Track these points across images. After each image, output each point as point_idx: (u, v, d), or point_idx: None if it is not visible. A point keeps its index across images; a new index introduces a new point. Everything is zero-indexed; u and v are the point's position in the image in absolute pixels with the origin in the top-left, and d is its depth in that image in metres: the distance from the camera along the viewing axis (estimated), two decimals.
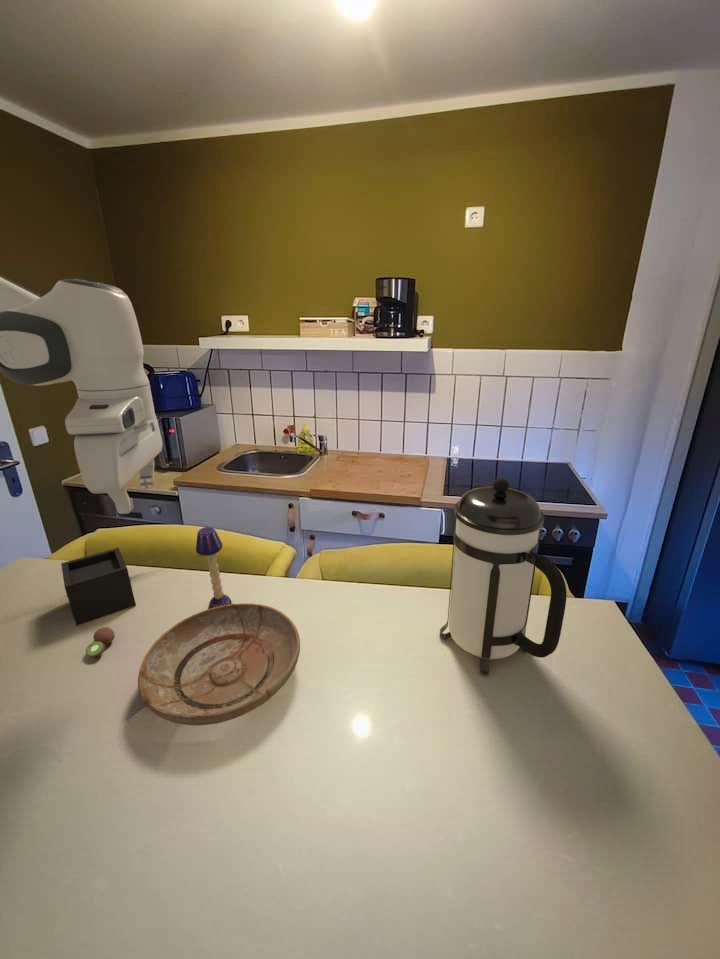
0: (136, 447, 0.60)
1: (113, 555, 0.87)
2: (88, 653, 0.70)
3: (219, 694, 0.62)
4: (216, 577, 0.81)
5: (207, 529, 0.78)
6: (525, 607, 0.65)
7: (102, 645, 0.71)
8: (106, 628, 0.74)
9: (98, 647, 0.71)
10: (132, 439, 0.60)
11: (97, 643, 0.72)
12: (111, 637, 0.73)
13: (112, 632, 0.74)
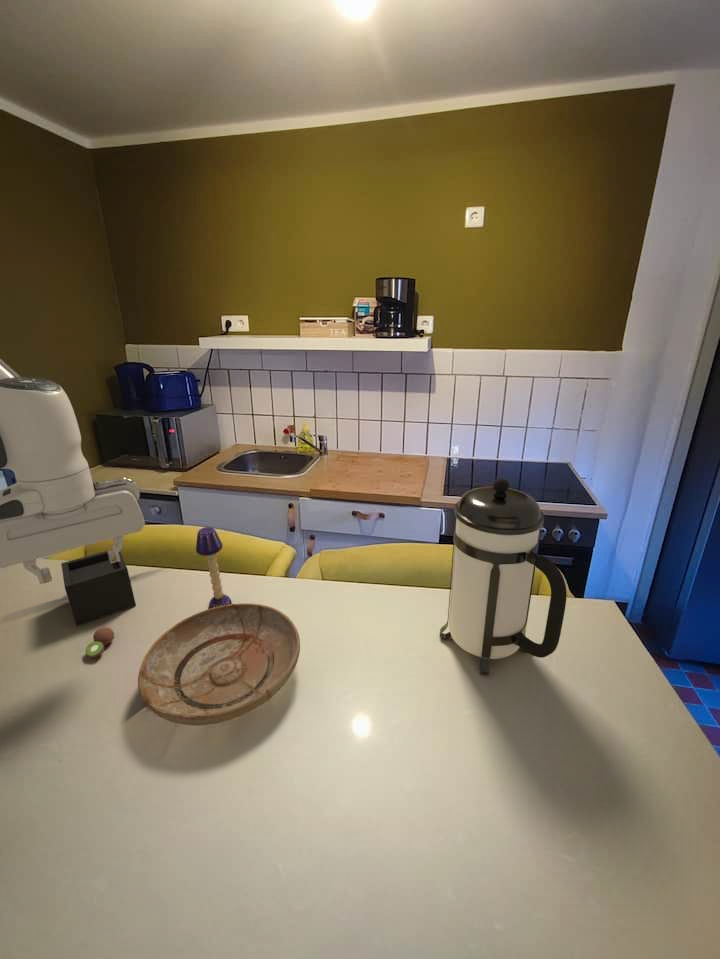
0: (58, 530, 0.63)
1: None
2: (88, 653, 0.70)
3: (219, 694, 0.62)
4: (216, 577, 0.81)
5: (207, 529, 0.78)
6: (525, 607, 0.65)
7: (102, 645, 0.71)
8: (106, 628, 0.74)
9: (98, 647, 0.71)
10: (54, 522, 0.63)
11: (97, 643, 0.72)
12: (111, 637, 0.73)
13: (112, 632, 0.74)
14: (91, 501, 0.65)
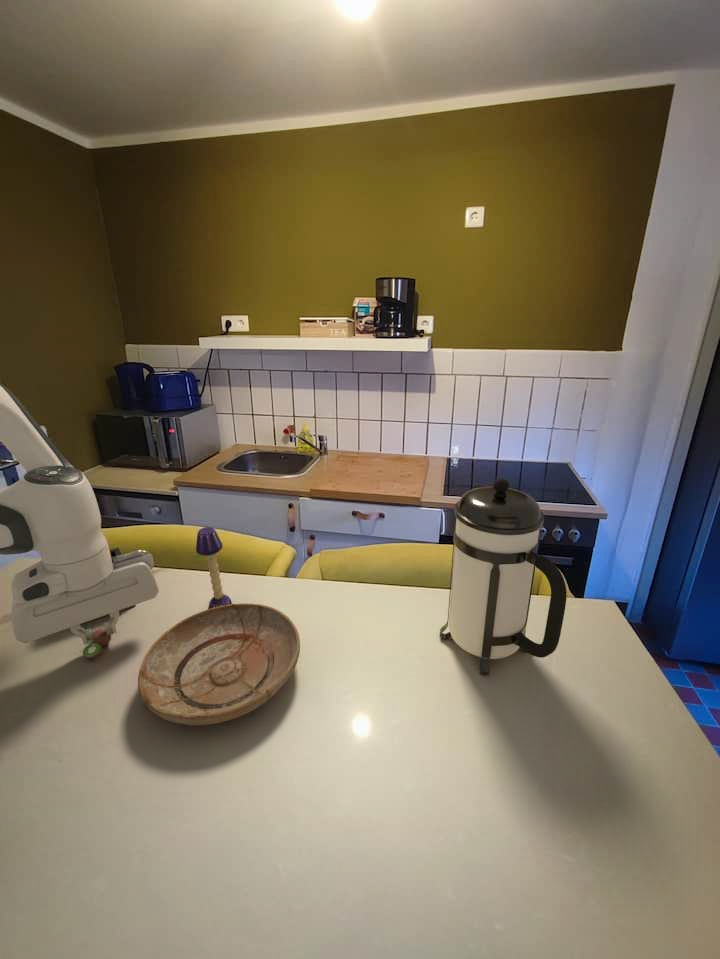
0: (79, 604, 0.68)
1: (113, 555, 0.87)
2: (85, 655, 0.70)
3: (219, 694, 0.62)
4: (216, 577, 0.81)
5: (207, 529, 0.78)
6: (525, 607, 0.65)
7: (99, 646, 0.71)
8: (102, 630, 0.74)
9: (95, 649, 0.71)
10: (76, 597, 0.67)
11: (94, 645, 0.72)
12: (108, 638, 0.73)
13: None
14: (110, 575, 0.69)
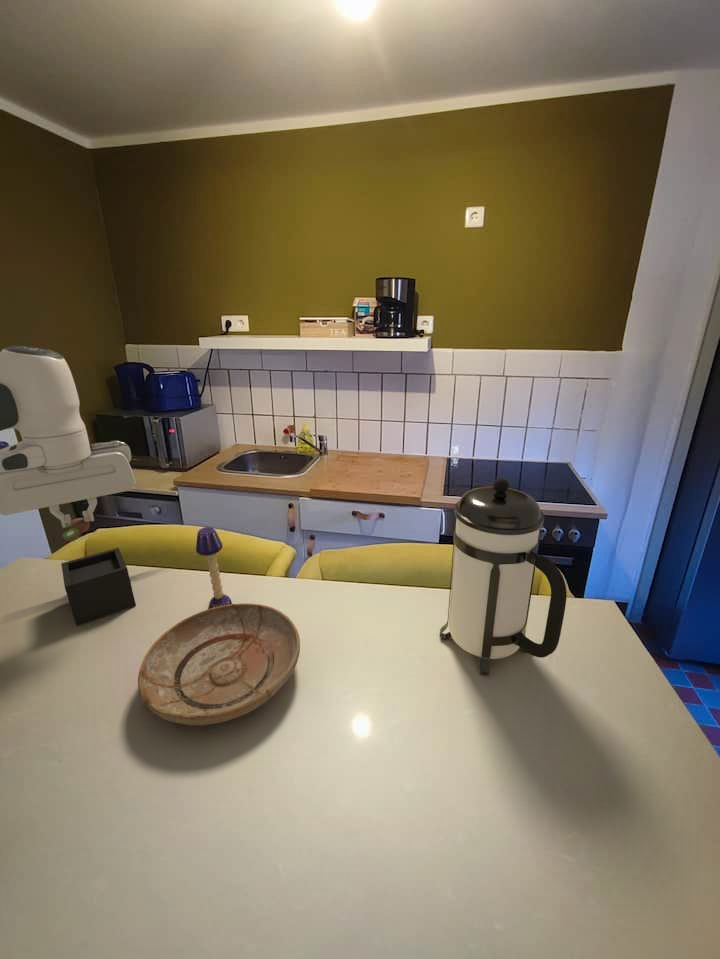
0: (58, 484, 0.71)
1: (113, 555, 0.87)
2: (64, 537, 0.74)
3: (219, 694, 0.62)
4: (216, 577, 0.81)
5: (207, 529, 0.78)
6: (525, 607, 0.65)
7: (78, 530, 0.75)
8: (81, 518, 0.77)
9: (74, 532, 0.74)
10: (54, 476, 0.71)
11: (73, 529, 0.75)
12: (86, 526, 0.76)
13: (87, 522, 0.77)
14: (87, 459, 0.72)
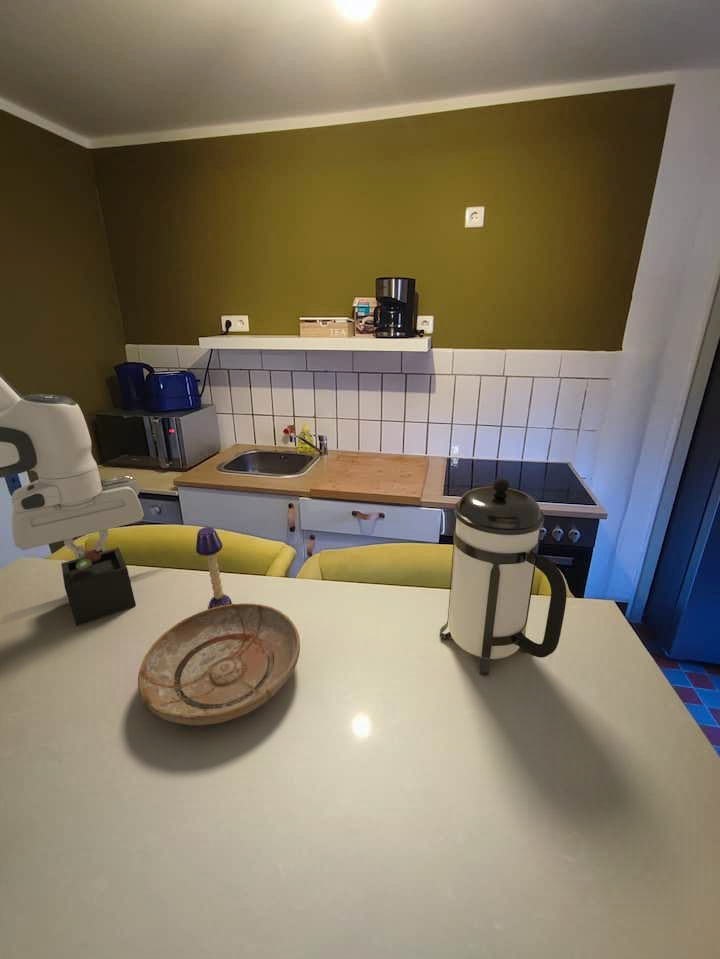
0: (72, 519, 0.76)
1: (113, 555, 0.87)
2: (78, 567, 0.79)
3: (219, 694, 0.62)
4: (216, 577, 0.81)
5: (207, 529, 0.78)
6: (525, 607, 0.65)
7: (90, 561, 0.80)
8: (93, 548, 0.82)
9: (87, 562, 0.79)
10: (69, 512, 0.76)
11: (85, 560, 0.80)
12: (98, 556, 0.82)
13: None
14: (99, 495, 0.78)
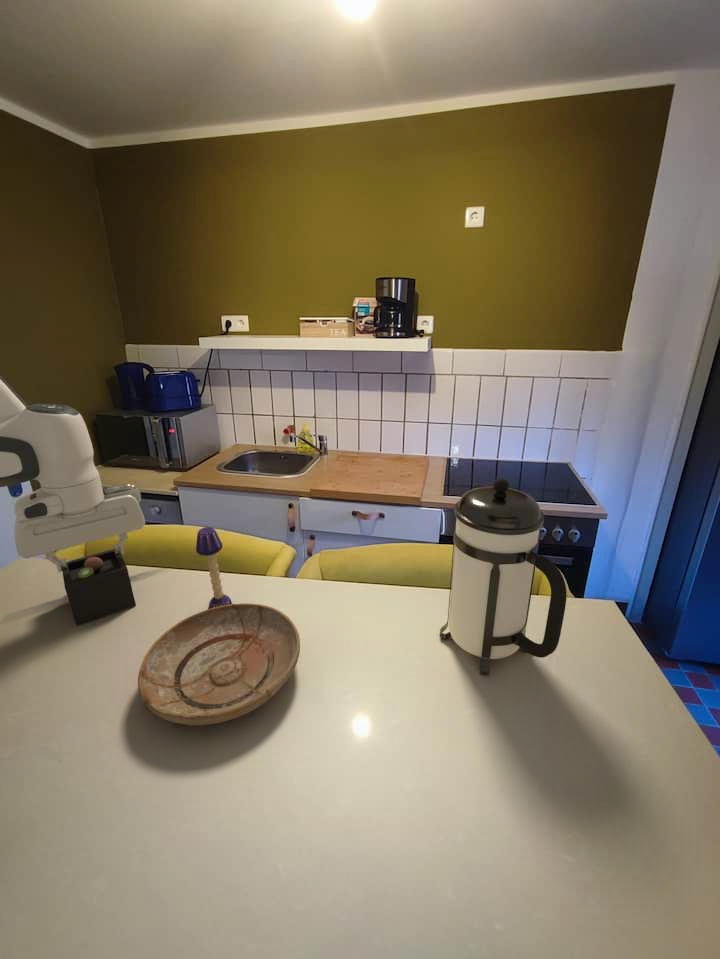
0: (74, 527, 0.77)
1: (113, 555, 0.87)
2: (80, 576, 0.79)
3: (219, 694, 0.62)
4: (216, 577, 0.81)
5: (207, 529, 0.78)
6: (525, 607, 0.65)
7: (92, 570, 0.80)
8: (95, 557, 0.83)
9: (89, 571, 0.80)
10: (71, 520, 0.76)
11: (88, 568, 0.81)
12: (100, 564, 0.82)
13: (101, 560, 0.83)
14: (101, 504, 0.78)
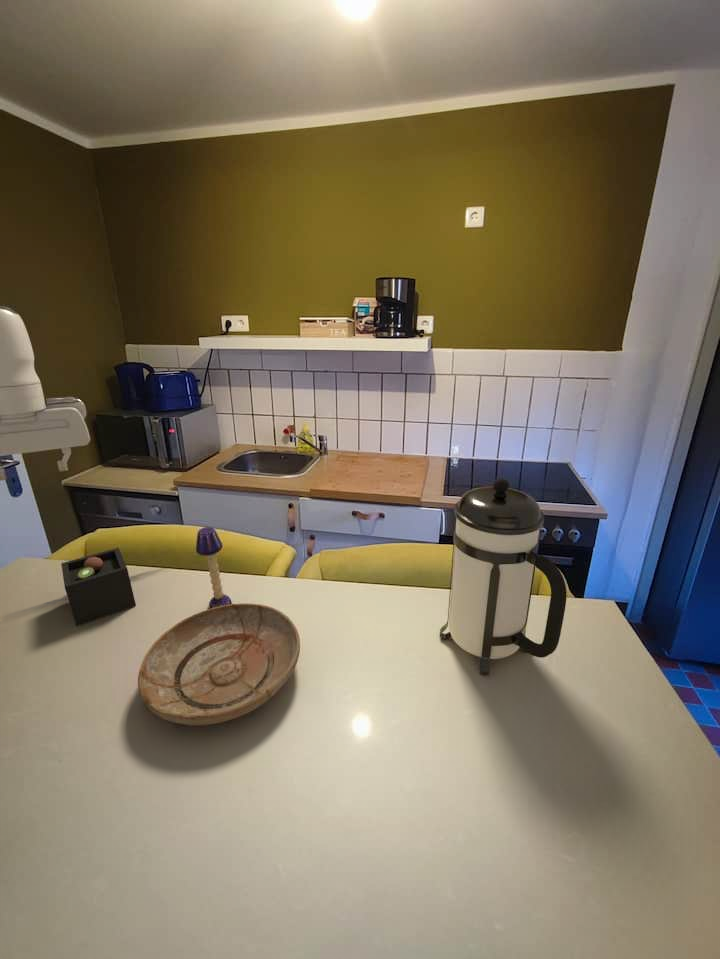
0: (12, 434, 0.75)
1: (113, 555, 0.87)
2: (80, 576, 0.79)
3: (219, 694, 0.62)
4: (216, 577, 0.81)
5: (207, 529, 0.78)
6: (525, 607, 0.65)
7: (92, 570, 0.80)
8: (95, 557, 0.83)
9: (89, 571, 0.80)
10: (9, 426, 0.75)
11: (88, 568, 0.81)
12: (100, 564, 0.82)
13: (101, 560, 0.83)
14: (41, 412, 0.77)
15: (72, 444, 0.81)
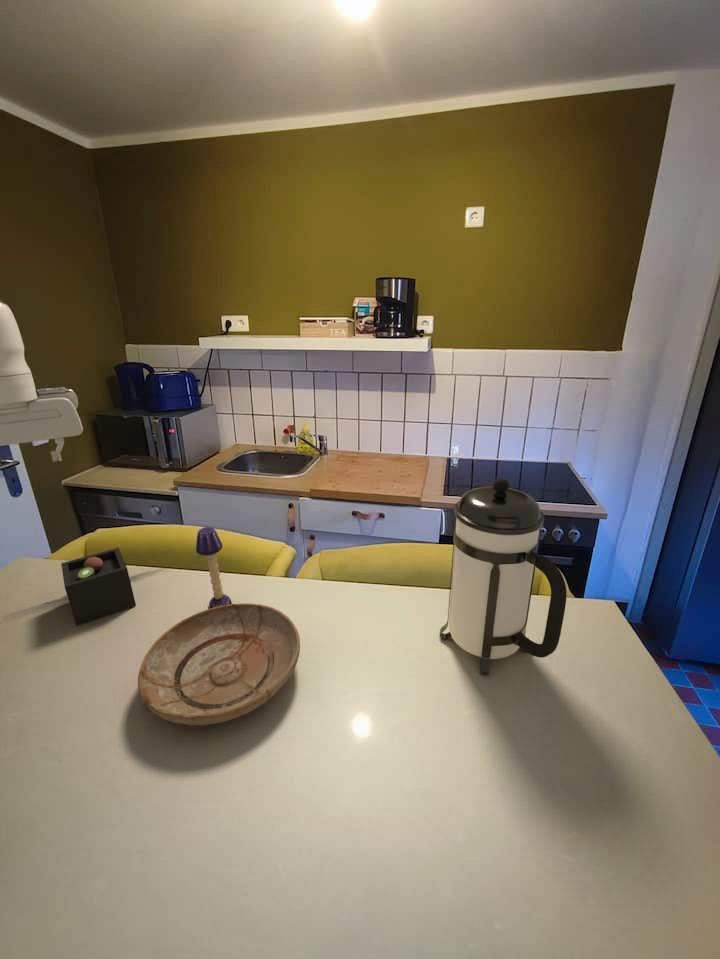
0: (5, 424, 0.76)
1: (113, 555, 0.87)
2: (80, 576, 0.79)
3: (219, 694, 0.62)
4: (216, 577, 0.81)
5: (207, 529, 0.78)
6: (525, 607, 0.65)
7: (92, 570, 0.80)
8: (95, 557, 0.83)
9: (89, 571, 0.80)
10: (1, 417, 0.75)
11: (88, 568, 0.81)
12: (100, 564, 0.82)
13: (101, 560, 0.83)
14: (33, 403, 0.77)
15: (65, 434, 0.81)
